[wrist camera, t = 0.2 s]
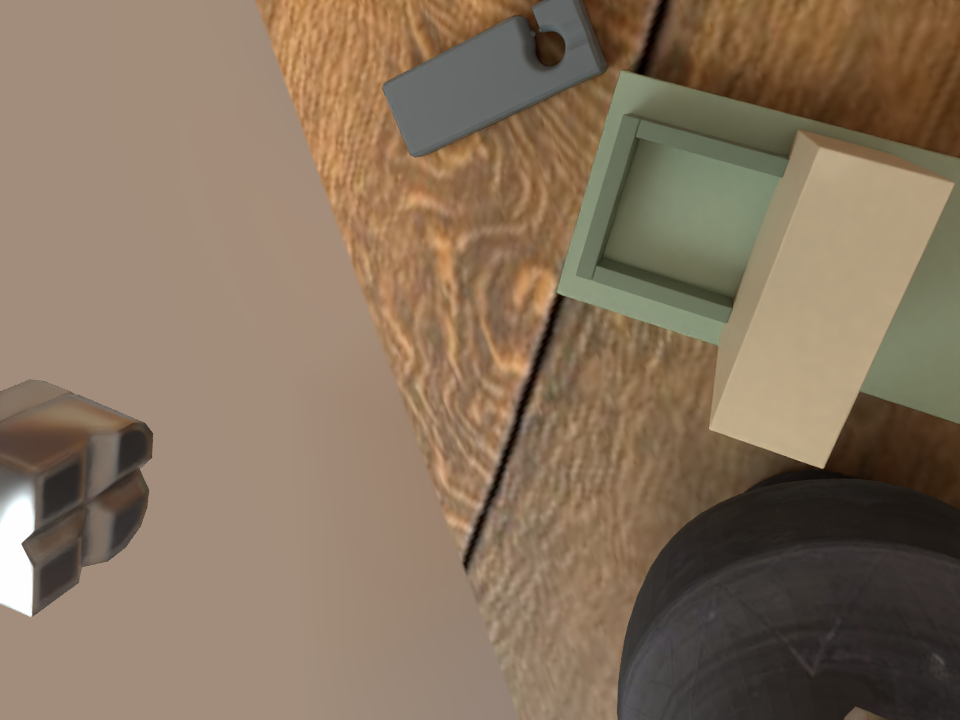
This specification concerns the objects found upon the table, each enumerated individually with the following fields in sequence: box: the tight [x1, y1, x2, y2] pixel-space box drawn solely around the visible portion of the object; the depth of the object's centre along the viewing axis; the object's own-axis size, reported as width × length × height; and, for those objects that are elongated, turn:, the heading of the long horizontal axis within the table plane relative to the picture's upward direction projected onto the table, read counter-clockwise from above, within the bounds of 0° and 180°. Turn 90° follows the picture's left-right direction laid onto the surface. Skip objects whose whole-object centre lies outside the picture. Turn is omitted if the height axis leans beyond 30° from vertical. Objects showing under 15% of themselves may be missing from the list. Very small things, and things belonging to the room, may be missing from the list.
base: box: [557, 70, 960, 469], centre depth 32 cm, size 11×20×14 cm, turn 76°
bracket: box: [382, 0, 607, 157], centre depth 39 cm, size 4×10×2 cm, turn 114°
